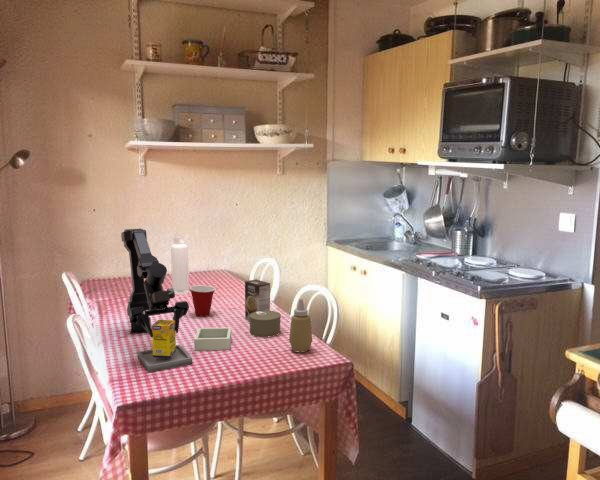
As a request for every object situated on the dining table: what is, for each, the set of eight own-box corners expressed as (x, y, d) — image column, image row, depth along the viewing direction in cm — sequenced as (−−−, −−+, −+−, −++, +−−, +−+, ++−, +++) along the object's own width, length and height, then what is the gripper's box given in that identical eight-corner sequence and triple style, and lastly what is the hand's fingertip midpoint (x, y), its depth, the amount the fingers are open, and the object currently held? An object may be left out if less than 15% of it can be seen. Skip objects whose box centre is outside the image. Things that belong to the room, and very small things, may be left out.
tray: (138, 357, 172) (137, 351, 172) (179, 350, 179) (179, 344, 178) (148, 372, 160) (148, 366, 160) (192, 363, 167) (192, 358, 166)
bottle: (180, 295, 251) (179, 238, 246) (168, 293, 255) (166, 237, 251) (192, 292, 257) (191, 236, 253) (180, 289, 262) (178, 235, 257)
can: (260, 339, 190) (259, 321, 189) (243, 331, 199) (243, 313, 198) (286, 333, 197) (286, 316, 196) (269, 325, 206) (269, 308, 205)
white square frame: (194, 350, 179) (194, 339, 178) (198, 338, 190) (198, 328, 190) (229, 349, 180) (229, 338, 179) (231, 337, 191) (231, 327, 191)
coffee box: (244, 319, 214) (244, 281, 211) (256, 316, 218) (256, 278, 216) (258, 324, 207) (258, 285, 205) (270, 320, 212) (270, 282, 209)
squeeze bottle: (292, 355, 175) (292, 303, 172) (286, 347, 182) (286, 297, 179) (315, 352, 177) (315, 301, 174) (308, 344, 184) (308, 295, 182)
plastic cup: (217, 317, 216) (217, 289, 214) (191, 319, 213) (190, 291, 211) (214, 310, 226) (214, 283, 225) (189, 312, 224) (188, 285, 222)
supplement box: (170, 358, 166) (169, 325, 164) (152, 357, 167) (151, 325, 165) (176, 351, 172) (175, 320, 170) (159, 350, 172) (157, 319, 171)
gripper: (129, 283, 164) (138, 327, 157) (186, 277, 173) (198, 318, 166) (125, 301, 172) (134, 343, 165) (180, 294, 181) (191, 334, 174)
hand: (164, 334), depth 167 cm, fingers closed on supplement box, 8 cm apart
